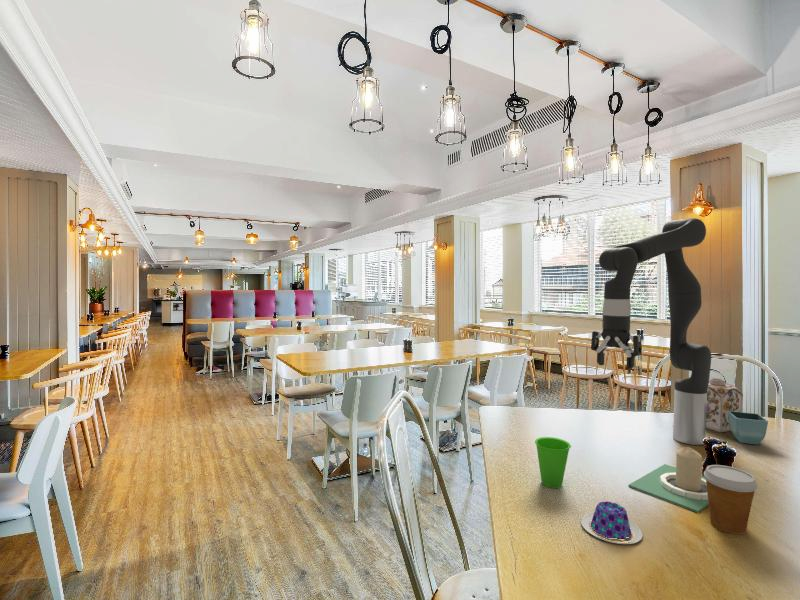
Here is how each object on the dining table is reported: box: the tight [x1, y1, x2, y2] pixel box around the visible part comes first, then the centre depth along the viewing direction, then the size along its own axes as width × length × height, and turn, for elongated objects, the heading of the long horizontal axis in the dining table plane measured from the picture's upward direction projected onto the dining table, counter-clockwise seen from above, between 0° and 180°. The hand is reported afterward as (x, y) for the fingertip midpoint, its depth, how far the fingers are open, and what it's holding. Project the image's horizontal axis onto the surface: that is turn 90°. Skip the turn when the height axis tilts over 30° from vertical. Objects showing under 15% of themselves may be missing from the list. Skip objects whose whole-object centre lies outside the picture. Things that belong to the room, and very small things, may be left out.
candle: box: [675, 446, 703, 491], centre depth 112 cm, size 6×6×10 cm
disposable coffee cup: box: [703, 464, 759, 535], centre depth 95 cm, size 10×10×12 cm
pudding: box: [580, 501, 643, 545], centre depth 94 cm, size 12×12×5 cm
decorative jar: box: [706, 377, 744, 433], centre depth 162 cm, size 12×12×18 cm
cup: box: [534, 436, 572, 489], centre depth 115 cm, size 9×9×11 cm
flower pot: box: [728, 411, 769, 446], centre depth 147 cm, size 9×9×9 cm
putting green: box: [628, 463, 709, 514], centre depth 114 cm, size 22×16×2 cm
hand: (614, 367), depth 131 cm, fingers open, 8 cm apart
